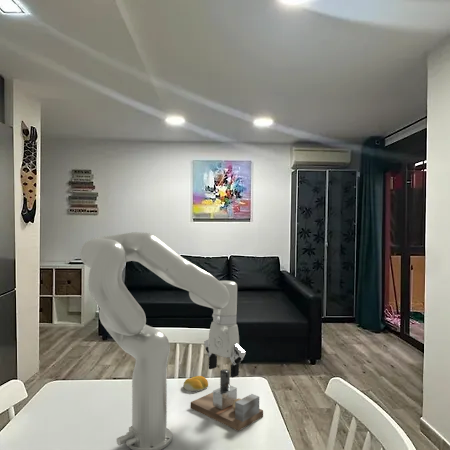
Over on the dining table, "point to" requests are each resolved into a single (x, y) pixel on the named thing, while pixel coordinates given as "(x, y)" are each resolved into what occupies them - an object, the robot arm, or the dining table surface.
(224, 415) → the base
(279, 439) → the dining table surface
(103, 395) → the dining table surface
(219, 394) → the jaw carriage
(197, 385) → the bread roll
